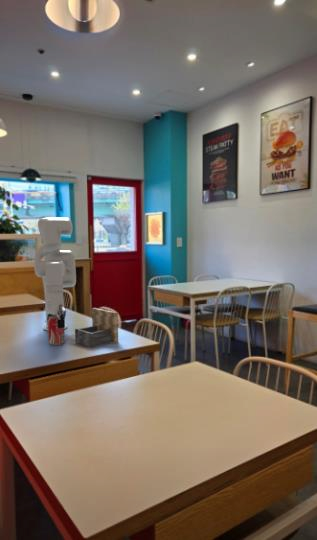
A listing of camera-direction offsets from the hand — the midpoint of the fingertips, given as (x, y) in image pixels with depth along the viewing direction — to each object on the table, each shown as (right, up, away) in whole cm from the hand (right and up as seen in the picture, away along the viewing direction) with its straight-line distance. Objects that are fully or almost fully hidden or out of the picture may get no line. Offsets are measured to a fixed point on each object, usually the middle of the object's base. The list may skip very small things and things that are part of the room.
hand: (56, 326), depth 174 cm
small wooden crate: (+18, -8, +3) cm, 19 cm away
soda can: (0, -9, +1) cm, 8 cm away
